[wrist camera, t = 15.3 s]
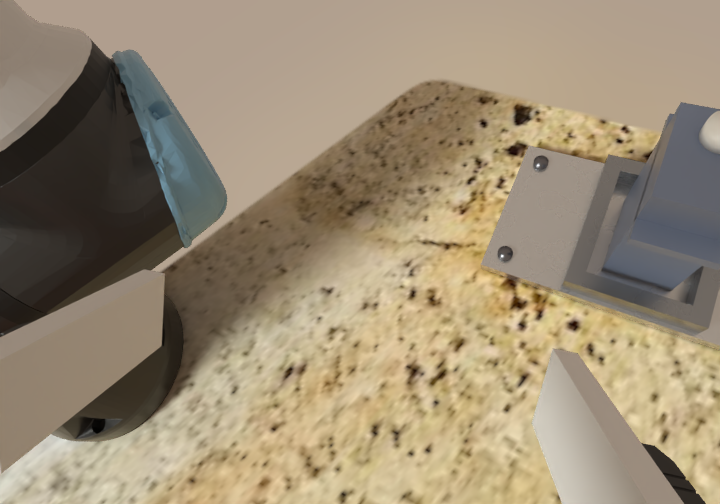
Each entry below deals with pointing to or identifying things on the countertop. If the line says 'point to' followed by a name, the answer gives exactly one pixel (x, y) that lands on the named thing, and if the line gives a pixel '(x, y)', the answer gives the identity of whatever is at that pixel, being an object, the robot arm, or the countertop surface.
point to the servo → (673, 205)
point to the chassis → (591, 245)
